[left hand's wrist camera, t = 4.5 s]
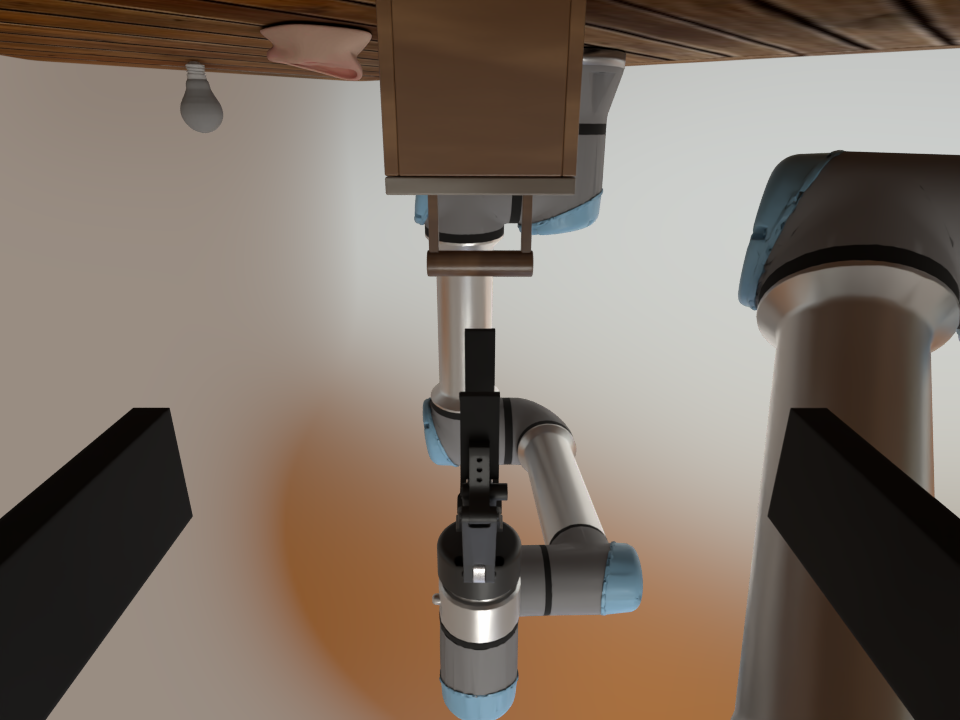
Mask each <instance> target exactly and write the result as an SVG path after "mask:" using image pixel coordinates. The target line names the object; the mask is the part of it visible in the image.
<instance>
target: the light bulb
mask: <svg viewBox="0 0 960 720" xmlns="http://www.w3.org/2000/svg"><path fill="white" fill-rule="evenodd" d="M185 66H187V68H186V69H187V72H188V74H187V81H186V91H185V94H184V97H183V99H182V102H181V107H180V110H181V115H182V118H183V119H184V121H185V122H186V124H187V125H188V126H189V127H191V128H192V129H193V130H195V131H198V132H202V133H208V132H212V131H214V130H216V129H217V128H218V127H219V126H220V124H221V122H222V119H223V111H222V107H221V105H220V103H219V102H218V100H217V99H216V97H215V96H214V94H213V93H212V91H211V89H210V85H209V83H208V81H207V79H206V75H204V74H205V73H204V71H205V70H204V68H205V67H204V65H203V64H201V63H199V62H196V61H191V62H189V63H187V64H186V65H185Z"/></svg>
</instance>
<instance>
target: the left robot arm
mask: <svg viewBox="0 0 960 720" xmlns="http://www.w3.org/2000/svg"><path fill="white" fill-rule="evenodd" d="M738 299H739V302H740V303H741V304H742V305H744V306H747V307H750V308H751V309H753V310H757V323H758V327H759V330H760V332H761V333H762V335H763V336H764V338H765V339H766V340H767V341H768V342H769V343H770V344H771V345H772V346H774V347H775V348H776V355H775V364H774V372H773V381H772V390H771V399H770V407H769V416H768V425H767V433H766V442H765V451H764V460H763V468H762V477H761V486H760V495H759V503H758V512H757V521H756V530H755V538H754V547H753V556H752V565H751V573H750V582H749V591H748V599H747V608H746V617H745V626H744V635H743V643H742V652H741V661H740V669H739V678H738V687H737V696H736V704H735V711H734V713H733V715H732V718H731V720H960V518H958V517H957V516H956V515H955V514H954V513H952V512H951V511H950V510H949V509H948V508H946V507H945V506H944V505H943V504H942V503H940V502H939V501H938V500H937V499H935V498H934V461H933V422H932V384H931V352H933V351H935V350H936V349H938V348H939V347H941V346H942V345H944V344H945V343H946V342H947V341H948V340H949V339H950V338H951V337H952V336H953V334H954V333H955V332H957V334H958V338H959V341H960V155H940V154H910V153H879V152H848V151H843V150H837V151H833V152H831V153H815V154H797V155H793V156H790V157H787V158H786V159H784V160H783V161H781V162H780V163H779V164H778V165H777V166H776V167H775V169H774V170H773V172H772V174H771V176H770V178H769V180H768V183H767V185H766V188H765V191H764V194H763V197H762V200H761V203H760V206H759V209H758V212H757V216H756V219H755V223H754V228H753V234H752V235H751V239H750V243H749V246H748V248H747V252H746V256H745V260H744V264H743V269H742V274H741V279H740V284H739V291H738ZM192 516H193V515H192V511H191V506H190V501H189V497H188V492H187V487H186V483H185V478H184V473H183V469H182V464H181V459H180V455H179V450H178V445H177V441H176V436H175V431H174V426H173V422H172V417H171V412H170V408H133V409H131V410H130V411H129V412H128V413H127V414H125V415H124V416H123V417H122V418H121V419H119V420H118V421H117V422H116V423H114V424H113V425H112V426H111V427H110V428H108V429H107V430H106V431H105V432H104V433H103V434H101V435H100V436H99V437H98V438H96V439H95V440H94V441H93V442H92V443H90V444H89V445H88V446H87V447H86V448H84V449H83V450H82V451H81V452H80V453H78V454H77V455H76V456H75V457H74V458H72V459H71V460H70V461H69V462H68V463H67V464H65V465H64V466H63V467H62V468H60V469H59V470H58V471H57V472H56V473H54V474H53V475H52V476H51V477H50V478H48V479H47V480H46V481H45V482H44V483H42V484H41V485H40V486H39V487H38V488H36V489H35V490H34V491H33V492H32V493H30V494H29V495H28V496H27V497H26V498H24V499H23V500H22V501H21V502H20V503H18V504H17V505H16V506H15V507H14V508H12V509H11V510H10V511H9V512H8V513H6V514H5V515H4V516H3V517H2V518H1V519H0V720H46V719H47V717H48V716H49V714H50V713H51V712H52V710H53V709H54V707H55V706H56V705H57V703H58V702H59V701H60V699H61V698H62V696H63V695H64V694H65V692H66V691H67V689H68V688H69V687H70V685H71V684H72V683H73V681H74V680H75V678H76V677H77V676H78V674H79V673H80V671H81V670H82V669H83V667H84V666H85V665H86V663H87V662H88V660H89V659H90V658H91V656H92V655H93V654H94V652H95V651H96V649H97V648H98V646H99V645H100V644H101V642H102V641H103V640H104V638H105V637H106V635H107V634H108V633H109V631H110V630H111V629H112V627H113V626H114V624H115V623H116V622H117V620H118V619H119V618H120V616H121V615H122V613H123V612H124V611H125V609H126V608H127V606H128V605H129V604H130V602H131V601H132V599H133V598H134V597H135V595H136V594H137V593H138V591H139V590H140V588H141V587H142V586H143V584H144V583H145V582H146V580H147V579H148V577H149V576H150V575H151V573H152V572H153V571H154V569H155V568H156V566H157V565H158V564H159V562H160V561H161V559H162V558H163V557H164V555H165V554H166V552H167V551H168V550H169V548H170V547H171V546H172V544H173V543H174V541H175V540H176V539H177V537H178V536H179V535H180V533H181V532H182V530H183V529H184V528H185V526H186V525H187V523H188V522H189V521H190V519H191V518H192Z"/></svg>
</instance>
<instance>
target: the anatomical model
mask: <svg viewBox="0 0 960 720" xmlns="http://www.w3.org/2000/svg"><path fill="white" fill-rule="evenodd" d="M260 32H261V34H262V35H263V36H265V37H266V38H267V39H268V40H269V41H271V42H272V44H273V47H272V48H271V49H269V50H268V51H267V58H268V59H269V60H270V61H273V62H278V63H284V64H288V65H292V66H296V67H299V68H303V69H307V70H311V71H315V72H319V73H322V74H326V75H330V76H333V77H337V78H341V79H345V80H352V81H355V80H359V79H361V77H362V67H361V65H360V63H359V62H358V60H357V56H358V54H359V53H360V52H361V51H362V50H363V49H364V48H365V46H366V45H367V44H368V43H369V41H370V39H371V37H372V35H371V34H370V33H369V32H367V31H363V30H359V29H352V28H345V27H336V26H326V25H314V24H285V25H278V26H273V27H268V28H265V29H262V30H260Z"/></svg>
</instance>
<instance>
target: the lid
mask: <svg viewBox="0 0 960 720" xmlns="http://www.w3.org/2000/svg"><path fill="white" fill-rule="evenodd" d="M575 184H576V179H575V178H574V177H573V176H400V175H398V176H387V177H386V178H385V185H386V194H387V195H428V225H429V250H428V252H427V274H428V276H477V277H531V276H532V275H533V251H531V235H532V206H533V195H574V194H575ZM438 195H522V226H521V251H496V250H439V211H438Z"/></svg>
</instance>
